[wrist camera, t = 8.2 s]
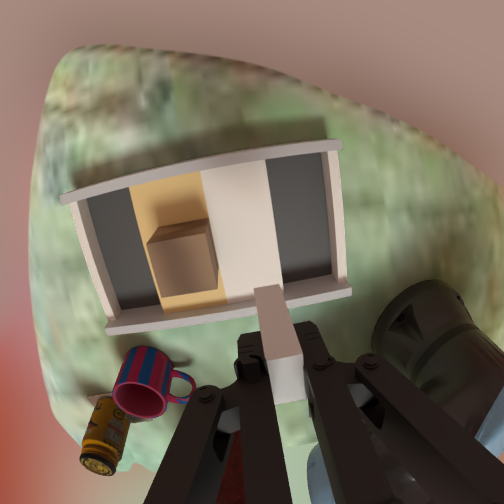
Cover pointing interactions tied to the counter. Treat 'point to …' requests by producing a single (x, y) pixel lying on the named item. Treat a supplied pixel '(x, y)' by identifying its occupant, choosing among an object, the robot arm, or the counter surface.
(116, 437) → the condiment
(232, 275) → the box
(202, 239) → the block
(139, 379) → the mug
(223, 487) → the dark red tall piece
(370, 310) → the counter surface
